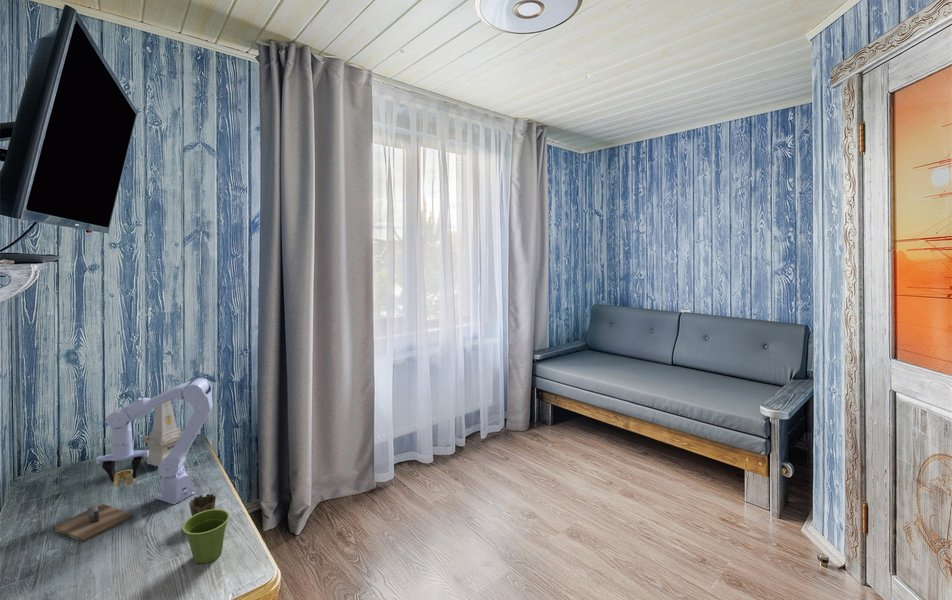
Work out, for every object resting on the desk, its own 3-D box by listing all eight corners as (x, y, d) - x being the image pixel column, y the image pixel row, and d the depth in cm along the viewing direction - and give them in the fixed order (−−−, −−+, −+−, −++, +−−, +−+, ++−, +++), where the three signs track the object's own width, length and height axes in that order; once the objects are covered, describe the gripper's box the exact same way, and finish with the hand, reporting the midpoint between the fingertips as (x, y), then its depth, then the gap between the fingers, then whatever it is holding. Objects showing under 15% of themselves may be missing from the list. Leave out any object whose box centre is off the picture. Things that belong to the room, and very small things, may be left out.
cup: (188, 531, 141) (187, 508, 140) (192, 518, 148) (191, 496, 147) (214, 526, 144) (214, 503, 143) (218, 513, 151) (217, 491, 150)
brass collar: (117, 480, 157) (116, 471, 157) (136, 477, 159) (136, 468, 159) (112, 488, 152) (111, 478, 152) (132, 484, 154) (131, 475, 154)
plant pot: (174, 563, 127) (172, 527, 125) (212, 539, 138) (210, 505, 136) (203, 575, 122) (201, 537, 121) (239, 549, 133) (238, 514, 132)
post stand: (133, 517, 147) (132, 501, 147) (83, 542, 134) (82, 525, 134) (102, 506, 153) (101, 491, 152) (52, 529, 140) (51, 513, 139)
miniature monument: (162, 468, 180) (158, 398, 176) (145, 463, 183) (141, 394, 180) (186, 458, 189) (183, 390, 186) (170, 453, 193) (167, 387, 190)
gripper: (150, 434, 161) (152, 470, 162) (100, 440, 155) (102, 477, 156) (145, 442, 154) (147, 479, 156) (92, 449, 148) (95, 487, 150)
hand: (124, 478), depth 155 cm, fingers closed on brass collar, 6 cm apart
